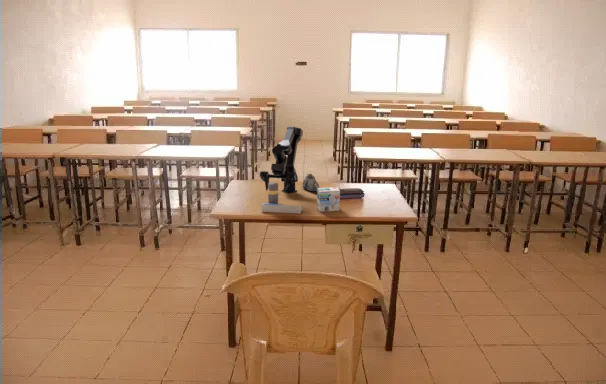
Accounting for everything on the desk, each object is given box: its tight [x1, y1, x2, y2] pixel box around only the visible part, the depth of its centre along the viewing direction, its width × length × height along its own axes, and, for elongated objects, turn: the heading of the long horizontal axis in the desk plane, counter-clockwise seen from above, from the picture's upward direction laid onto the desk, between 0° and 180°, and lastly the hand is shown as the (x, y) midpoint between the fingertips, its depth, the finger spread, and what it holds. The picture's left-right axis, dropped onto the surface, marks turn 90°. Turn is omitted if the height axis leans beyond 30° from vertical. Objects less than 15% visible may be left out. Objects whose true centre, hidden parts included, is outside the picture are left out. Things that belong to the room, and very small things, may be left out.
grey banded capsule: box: [267, 182, 279, 204], centre depth 232 cm, size 5×5×13 cm
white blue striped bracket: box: [261, 202, 303, 214], centre depth 229 cm, size 20×4×4 cm, turn 83°
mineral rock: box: [301, 173, 320, 192], centre depth 265 cm, size 13×11×10 cm
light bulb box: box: [316, 186, 341, 212], centre depth 232 cm, size 11×7×11 cm, turn 101°
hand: (275, 190), depth 235 cm, fingers open, 9 cm apart
